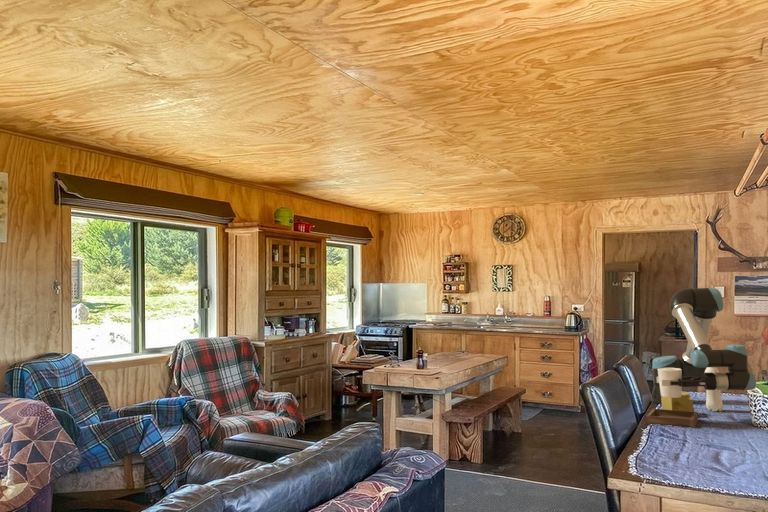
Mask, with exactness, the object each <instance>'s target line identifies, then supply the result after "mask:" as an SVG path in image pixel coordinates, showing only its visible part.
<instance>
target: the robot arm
mask: <svg viewBox="0 0 768 512" xmlns="http://www.w3.org/2000/svg"><path fill="white" fill-rule="evenodd" d="M669 310H670V313H671V316H672V317H674V318H675V319H676V320H677V322H678V324H679V326H680V328H681V330H682V332H683V334H684V337H685V338H686V340H687V345H686V350H685V352H683V353H682V356H681V358H677V356H676V355H665V356H663V355H662V356H657V357H655V358H653V359H652V366H651V369H652V379H653V381H652V382H653V388H652V391H651V392H652V393H651V395H650V401H651V403H655V404H661V403H662V402H661V393H660V385H659V377H658V370H657V369H658V368H679V369H682V380H681V379H678V380H661V381H662V386H678V385H679V386H681V387H682V388H690V387H692V388H693V387H703V388H704V390H705V391H706V390H715V389H716V390H721V392H724V391H751V390H752V391H753V390H755V388H756V387H757V378H756V375H755V373H753V372H750V371H749V365H748V364H749V362H748V351H747V347H746V346H745V345H743V344H727V345H726V348H725V349H713V348H712V346H711V344H710V342H709V337H710V329H711V327H712V326H711V324H712V320H713V319H715V318H716V316H717V313H719V312H722V311H723V310H724V299H723V296H722V294H721V291H720V290H719V289H718V288H717V287H716V288H715V287H698V288H697V287H696V288H695V287H694V288H681V289H679V290H676V292H675V293H674V294H673V295H672V296H671V297H670V300H669ZM707 367H717V368H727V370H728V372H724V371H723V372H720V371H719V372H715V373H704V372H705V370H706V368H707Z"/></svg>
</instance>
